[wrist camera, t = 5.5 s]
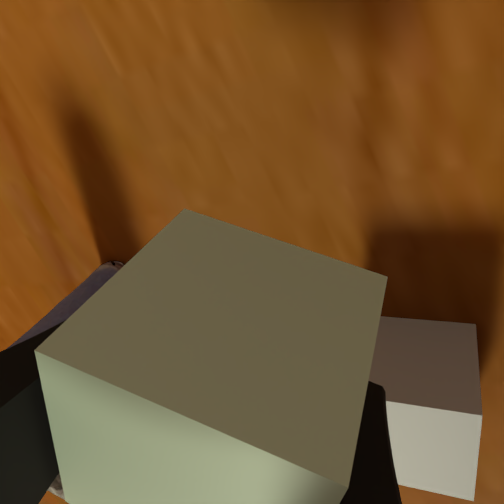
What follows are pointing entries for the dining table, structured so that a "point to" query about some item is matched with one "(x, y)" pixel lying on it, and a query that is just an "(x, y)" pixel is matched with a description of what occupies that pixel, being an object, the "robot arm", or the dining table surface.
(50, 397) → the green cube
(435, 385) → the grey cube
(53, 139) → the dining table surface
